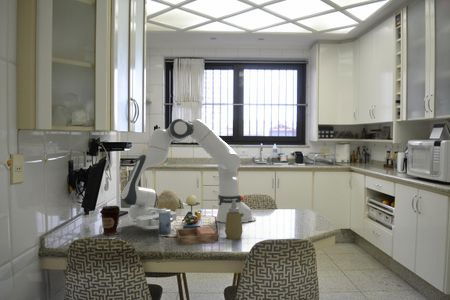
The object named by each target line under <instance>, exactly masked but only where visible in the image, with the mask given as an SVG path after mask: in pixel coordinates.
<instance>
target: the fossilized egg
mask: <svg viewBox="0 0 450 300" xmlns="http://www.w3.org/2000/svg"><path fill="white" fill-rule="evenodd" d="M179 204H180V201H179V197H178V195H177V194H176V192H175V191H174V190H173V189H170V188H169V189H165V190H163V191H162V192H161V193H160V194H159V196H158V197H157V208H166V209H170V210H171V211H173V212H176V211H177V209H178V208H179V206H180V205H179Z"/></svg>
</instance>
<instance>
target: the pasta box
mask: <svg viewBox="0 0 450 300" xmlns="http://www.w3.org/2000/svg"><path fill="white" fill-rule="evenodd" d="M211 227H212V226H198V227H196V228H197V236H208V235H215V231H216V230H215V229H214V228H213V227H212V228H213V229H214V230H215V231H214V230H213V229H212V228H211Z"/></svg>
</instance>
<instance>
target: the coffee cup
mask: <svg viewBox="0 0 450 300" xmlns="http://www.w3.org/2000/svg"><path fill="white" fill-rule="evenodd" d="M120 211H121V209H120V208H119V205H106V206H102V207H101V212H100V213H101V223H102V224H101V225H102V229H103V231H102V233H103V235H105V236H110V235H111V236H113V235H117V234H118V225H119V223H120V222H119V221H120V213H121V212H120Z"/></svg>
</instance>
